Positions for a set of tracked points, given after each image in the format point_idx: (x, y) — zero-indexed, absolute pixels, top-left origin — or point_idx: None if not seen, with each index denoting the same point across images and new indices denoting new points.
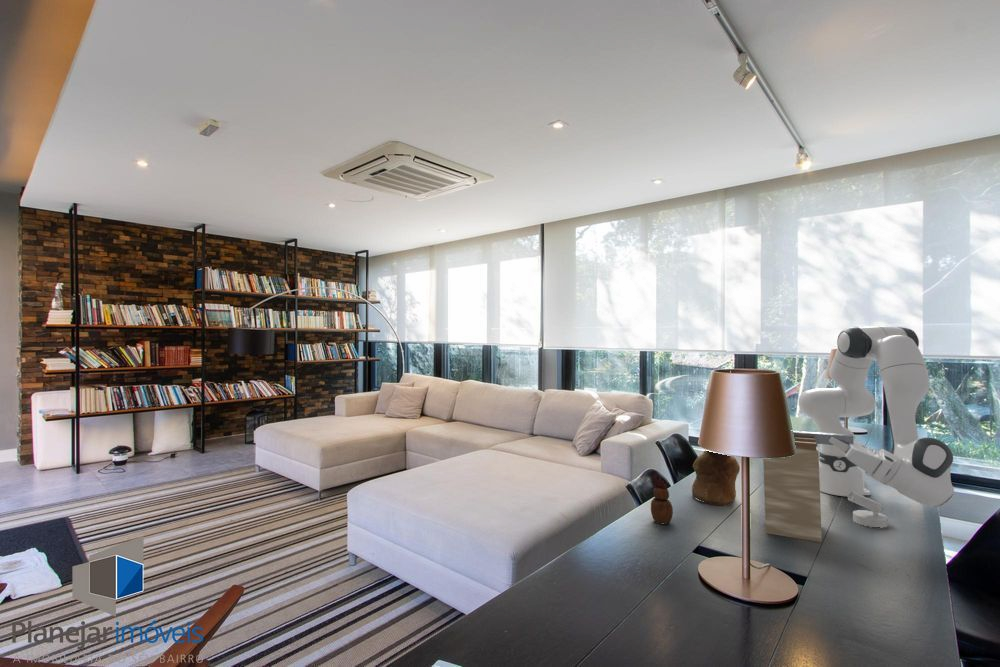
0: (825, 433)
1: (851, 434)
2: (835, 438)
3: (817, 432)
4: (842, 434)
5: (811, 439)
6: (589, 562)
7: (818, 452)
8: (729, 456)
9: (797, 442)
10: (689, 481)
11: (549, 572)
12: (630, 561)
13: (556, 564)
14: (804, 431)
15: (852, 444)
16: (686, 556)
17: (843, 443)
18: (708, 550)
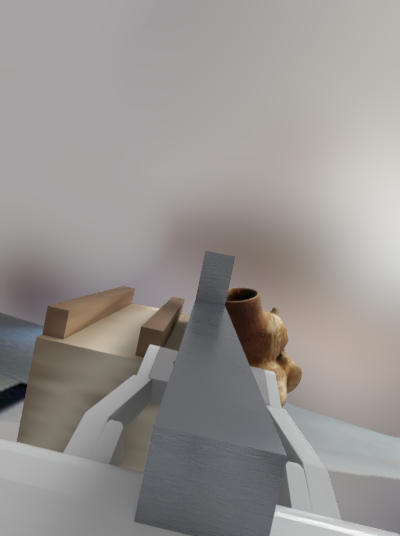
0: (217, 338)
1: (281, 448)
2: (151, 362)
3: (228, 330)
4: (227, 383)
5: (144, 323)
6: (23, 330)
7: (35, 343)
8: (255, 363)
9: (85, 296)
10: (313, 414)
11: (12, 318)
12: (14, 345)
13: (26, 321)
14: (227, 317)
15: (72, 479)
16: (8, 376)
17: (95, 406)
18: (19, 396)
